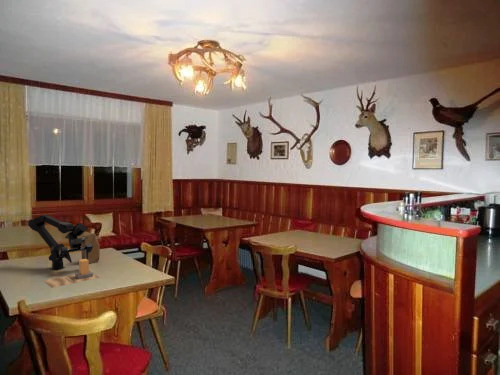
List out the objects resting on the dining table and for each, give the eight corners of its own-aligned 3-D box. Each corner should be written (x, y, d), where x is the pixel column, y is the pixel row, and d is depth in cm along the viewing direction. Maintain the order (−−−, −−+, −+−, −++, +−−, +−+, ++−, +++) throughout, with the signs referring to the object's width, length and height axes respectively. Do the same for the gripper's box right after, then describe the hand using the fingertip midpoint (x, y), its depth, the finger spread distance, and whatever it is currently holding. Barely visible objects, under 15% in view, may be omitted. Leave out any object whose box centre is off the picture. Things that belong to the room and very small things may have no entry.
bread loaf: (84, 264, 240) (83, 235, 239) (81, 262, 246) (80, 233, 245) (100, 262, 247) (100, 233, 246) (97, 259, 253) (96, 232, 252)
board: (51, 289, 193) (51, 287, 193) (43, 282, 204) (43, 280, 204) (99, 279, 211) (99, 277, 211) (89, 273, 222) (89, 271, 222)
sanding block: (78, 279, 207) (78, 262, 206) (75, 276, 212) (74, 260, 212) (92, 276, 212) (92, 260, 212) (89, 273, 218) (88, 257, 217)
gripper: (59, 234, 214) (65, 256, 207) (91, 231, 227) (98, 251, 219) (56, 245, 221) (61, 266, 213) (88, 241, 233) (94, 261, 226)
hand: (79, 261), depth 218 cm, fingers open, 9 cm apart
